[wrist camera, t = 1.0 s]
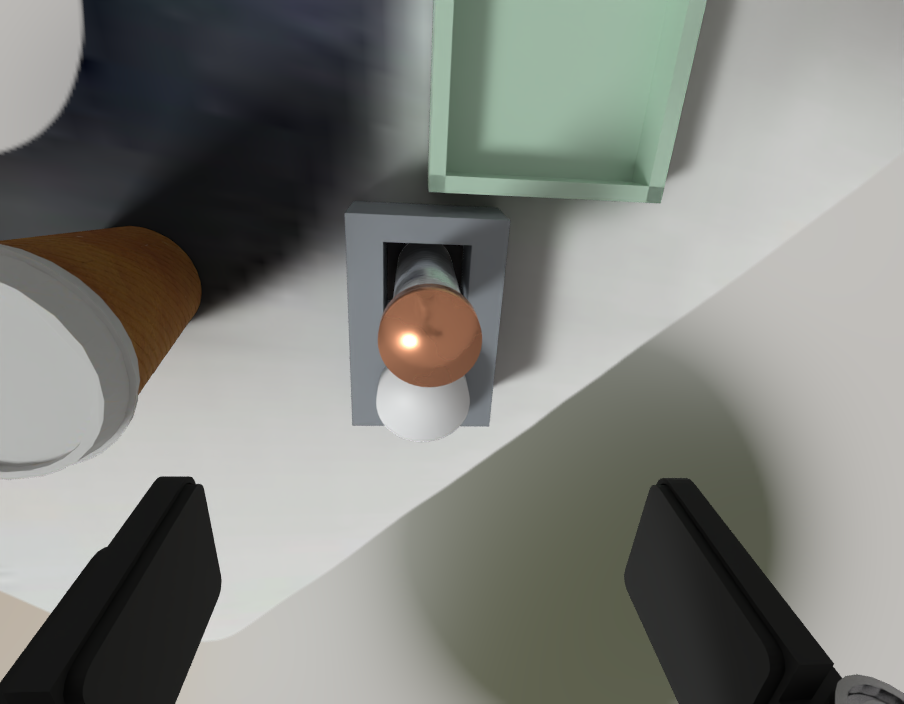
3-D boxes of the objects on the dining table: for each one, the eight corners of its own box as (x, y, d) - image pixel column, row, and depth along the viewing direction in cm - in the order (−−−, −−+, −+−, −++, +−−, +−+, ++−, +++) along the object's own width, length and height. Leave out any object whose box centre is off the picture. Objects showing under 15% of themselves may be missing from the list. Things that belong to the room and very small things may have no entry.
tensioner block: (354, 201, 27) (339, 218, 22) (497, 207, 27) (516, 226, 22) (359, 391, 32) (349, 441, 27) (480, 392, 32) (492, 442, 27)
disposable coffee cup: (234, 216, 27) (110, 279, 16) (227, 368, 30) (124, 503, 20) (42, 176, 25) (-241, 215, 14) (61, 341, 29) (-152, 472, 18)
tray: (438, -159, 21) (441, -199, 18) (705, -129, 22) (744, -163, 19) (427, 185, 27) (428, 191, 24) (637, 196, 28) (660, 203, 25)
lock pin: (390, 229, 27) (377, 289, 18) (460, 233, 28) (486, 293, 18) (390, 297, 29) (378, 386, 19) (456, 299, 29) (478, 388, 20)
